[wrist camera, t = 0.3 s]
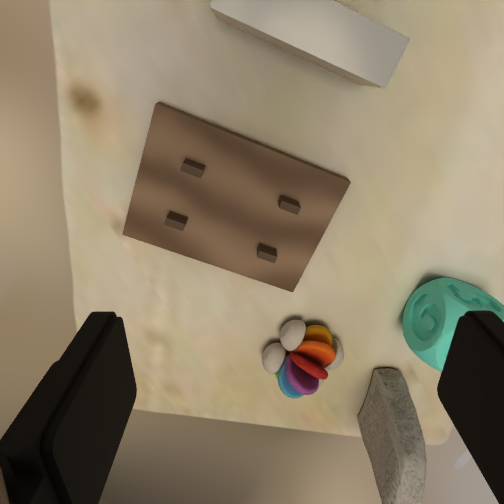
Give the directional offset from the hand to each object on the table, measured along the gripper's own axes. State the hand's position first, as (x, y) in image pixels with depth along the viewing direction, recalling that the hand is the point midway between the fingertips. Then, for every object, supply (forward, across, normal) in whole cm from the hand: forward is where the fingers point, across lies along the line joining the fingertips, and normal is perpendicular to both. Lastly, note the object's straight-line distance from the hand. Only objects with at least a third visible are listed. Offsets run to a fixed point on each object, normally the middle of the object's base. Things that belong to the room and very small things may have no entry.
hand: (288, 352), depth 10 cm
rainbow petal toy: (+29, -5, +25) cm, 39 cm away
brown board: (+29, +3, +6) cm, 30 cm away
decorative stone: (+29, -17, +34) cm, 48 cm away
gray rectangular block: (+29, -3, -10) cm, 31 cm away
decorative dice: (+29, -22, +19) cm, 41 cm away
